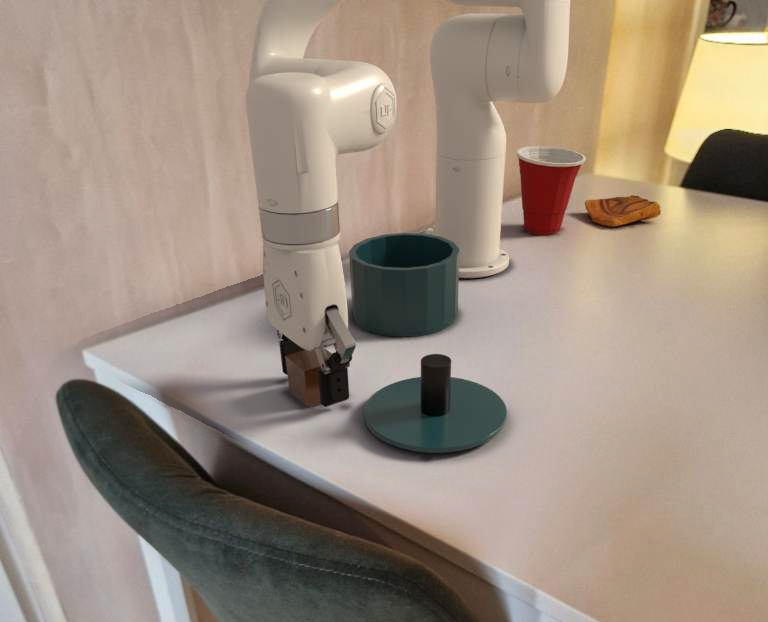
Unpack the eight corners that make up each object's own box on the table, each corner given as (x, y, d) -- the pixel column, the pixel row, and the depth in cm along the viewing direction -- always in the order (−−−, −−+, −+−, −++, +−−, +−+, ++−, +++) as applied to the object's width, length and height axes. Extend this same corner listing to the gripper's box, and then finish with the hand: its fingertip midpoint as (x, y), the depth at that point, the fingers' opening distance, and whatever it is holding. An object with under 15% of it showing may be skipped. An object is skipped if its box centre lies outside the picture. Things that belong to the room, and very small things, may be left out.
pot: (334, 310, 102) (330, 247, 97) (417, 287, 108) (417, 226, 103) (390, 346, 93) (388, 278, 88) (477, 319, 99) (481, 253, 93)
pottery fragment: (664, 203, 126) (613, 199, 122) (656, 232, 128) (605, 229, 125) (631, 189, 133) (582, 186, 130) (623, 217, 136) (575, 214, 133)
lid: (339, 411, 81) (334, 353, 77) (449, 373, 87) (450, 318, 83) (417, 475, 71) (417, 413, 67) (535, 427, 77) (542, 368, 73)
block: (289, 392, 85) (285, 355, 82) (323, 380, 86) (320, 345, 84) (308, 408, 82) (304, 371, 79) (343, 396, 83) (340, 359, 81)
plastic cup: (577, 241, 121) (588, 160, 114) (509, 239, 123) (515, 159, 116) (576, 220, 130) (585, 144, 122) (511, 218, 131) (517, 143, 124)
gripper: (227, 208, 77) (250, 365, 88) (308, 255, 65) (324, 430, 76) (293, 195, 80) (307, 349, 91) (382, 238, 68) (387, 408, 79)
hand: (315, 385), depth 83 cm, fingers open, 8 cm apart
